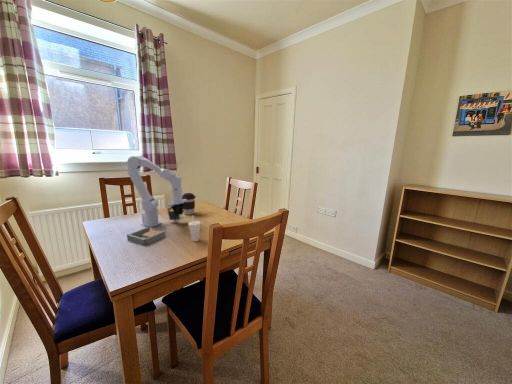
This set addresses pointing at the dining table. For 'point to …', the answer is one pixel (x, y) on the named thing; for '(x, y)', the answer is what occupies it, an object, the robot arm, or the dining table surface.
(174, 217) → the turner
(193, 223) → the smoothie
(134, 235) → the frame
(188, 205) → the coffee cup
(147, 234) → the tile
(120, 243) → the dining table surface
